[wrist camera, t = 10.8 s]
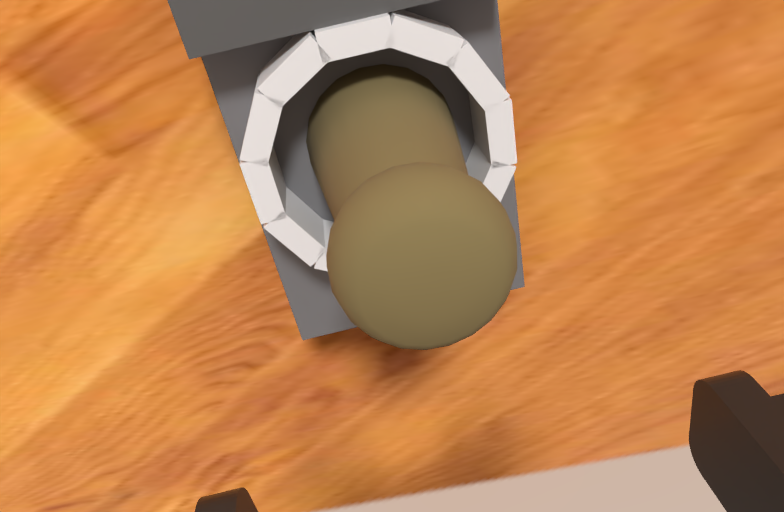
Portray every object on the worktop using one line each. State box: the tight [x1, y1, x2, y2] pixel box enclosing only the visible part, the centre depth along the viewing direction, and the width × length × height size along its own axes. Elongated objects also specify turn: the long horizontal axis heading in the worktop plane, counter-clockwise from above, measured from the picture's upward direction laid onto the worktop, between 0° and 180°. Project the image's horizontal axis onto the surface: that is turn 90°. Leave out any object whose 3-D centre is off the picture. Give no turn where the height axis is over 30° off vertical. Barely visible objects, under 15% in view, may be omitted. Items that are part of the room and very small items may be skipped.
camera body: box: [168, 0, 525, 340], centre depth 26 cm, size 11×18×8 cm, turn 11°
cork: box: [306, 64, 517, 350], centre depth 20 cm, size 6×6×11 cm
